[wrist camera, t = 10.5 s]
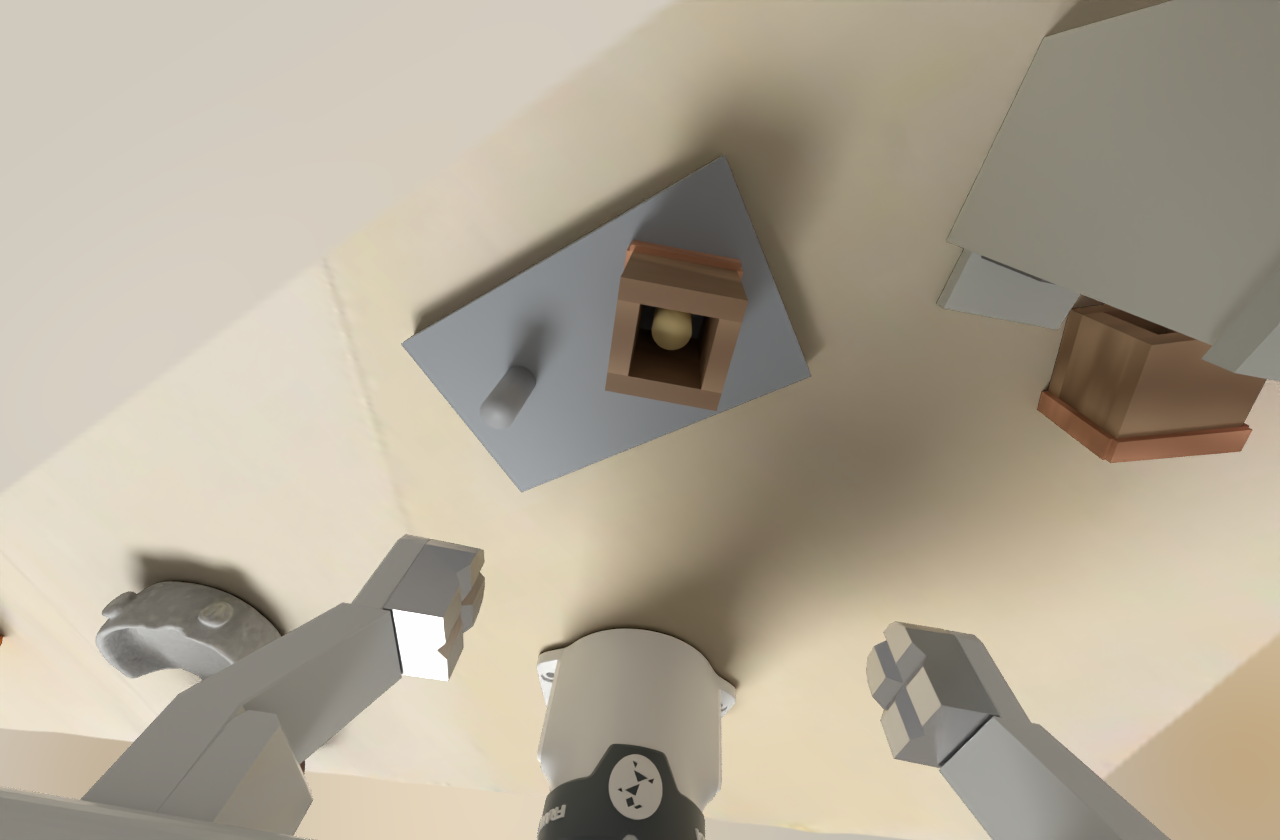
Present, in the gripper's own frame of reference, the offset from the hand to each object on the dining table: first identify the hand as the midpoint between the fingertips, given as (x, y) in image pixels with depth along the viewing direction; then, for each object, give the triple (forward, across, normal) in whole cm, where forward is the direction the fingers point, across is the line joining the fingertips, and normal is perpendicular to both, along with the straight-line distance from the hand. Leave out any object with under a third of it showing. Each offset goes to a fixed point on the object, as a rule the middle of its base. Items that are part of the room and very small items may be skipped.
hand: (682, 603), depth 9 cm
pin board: (+20, -4, -3) cm, 20 cm away
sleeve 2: (+19, +23, +2) cm, 30 cm away
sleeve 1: (+18, -1, +1) cm, 18 cm away
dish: (+20, -38, -39) cm, 58 cm away
